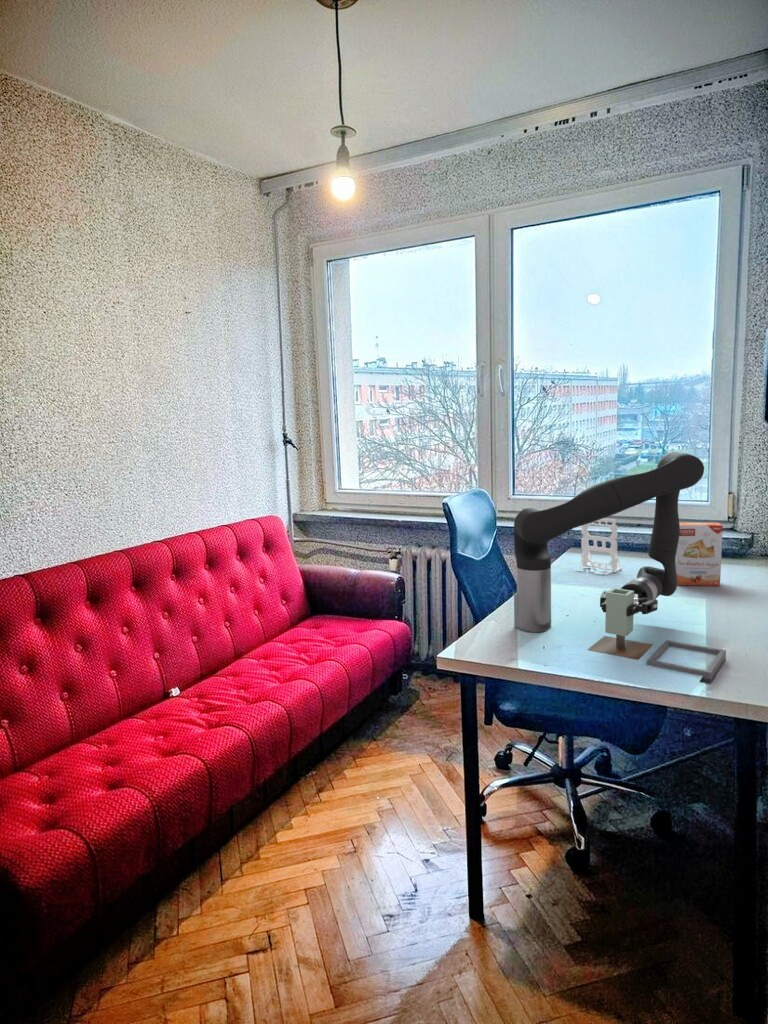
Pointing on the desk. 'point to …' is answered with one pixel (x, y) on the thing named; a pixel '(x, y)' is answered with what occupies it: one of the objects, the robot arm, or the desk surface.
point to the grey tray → (707, 674)
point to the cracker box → (699, 554)
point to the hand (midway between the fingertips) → (616, 610)
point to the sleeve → (618, 612)
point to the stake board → (627, 652)
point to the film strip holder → (611, 550)
